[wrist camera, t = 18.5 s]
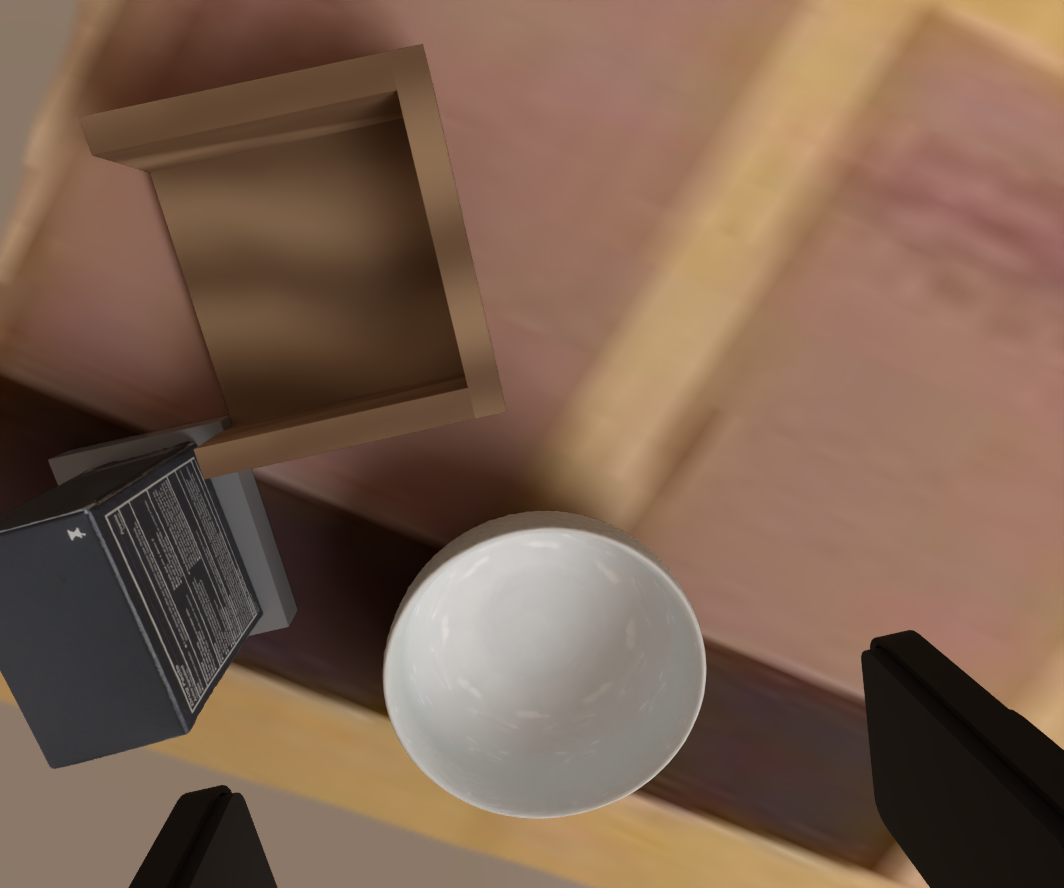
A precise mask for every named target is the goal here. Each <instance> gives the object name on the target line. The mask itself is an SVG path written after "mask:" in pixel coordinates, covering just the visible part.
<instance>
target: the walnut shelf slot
mask: <svg viewBox="0 0 1064 888" xmlns="http://www.w3.org/2000/svg"><path fill="white" fill-rule="evenodd" d="M79 119H80V122H81V125H82V128H83V131H84V134H85V136H86V139H87V142H88V145H89V148H90V151H91V154H92V155H93V156H96V157H99V158H103V159H106V160H109V161H113V162H116V163H119V164H123V165H126V166H129V167H133V168H136V169H139V170H143V171H146V172H149V173H150V174H151V177H152V181H153V184H154V187H155V190H156V193H157V196H158V199H159V202H160V205H161V208H162V211H163V214H164V217H165V220H166V223H167V226H168V229H169V232H170V235H171V238H172V241H173V245H174V248H175V251H176V254H177V257H178V260H179V263H180V266H181V269H182V272H183V275H184V278H185V281H186V284H187V287H188V290H189V293H190V296H191V299H192V302H193V306H194V309H195V312H196V315H197V318H198V321H199V324H200V327H201V330H202V333H203V336H204V339H205V342H206V345H207V348H208V351H209V354H210V357H211V360H212V363H213V367H214V370H215V373H216V376H217V379H218V382H219V385H220V388H221V391H222V394H223V397H224V400H225V403H226V406H227V409H228V412H229V415H230V418H231V421H232V424H233V425H232V426H230V427H228V428H227V429H225V430H224V431H222V432H220V433H219V434H217V435H216V436H214V437H212V438H211V439H209V440H208V441H206V442H204V443H203V444H201V445H200V446H198V447H196V448H195V449H194V452H195V455H196V458H197V461H198V464H199V467H200V469H201V472H202V475H203V478H204V479H209V478H213V477H218V476H222V475H227V474H231V473H235V472H240V471H244V470H249V469H253V468H258V467H262V466H267V465H271V464H275V463H280V462H284V461H289V460H293V459H298V458H302V457H307V456H311V455H316V454H320V453H324V452H329V451H333V450H338V449H342V448H347V447H351V446H356V445H360V444H365V443H369V442H373V441H378V440H382V439H387V438H391V437H396V436H400V435H405V434H409V433H413V432H418V431H422V430H427V429H431V428H436V427H440V426H445V425H449V424H454V423H458V422H462V421H467V420H471V419H476V418H480V417H485V416H489V415H494V414H498V413H502V412H506V408H505V403H504V398H503V393H502V388H501V384H500V379H499V375H498V371H497V366H496V362H495V357H494V353H493V349H492V344H491V340H490V335H489V331H488V327H487V322H486V318H485V313H484V309H483V305H482V300H481V296H480V291H479V287H478V282H477V278H476V274H475V269H474V265H473V260H472V256H471V252H470V247H469V243H468V238H467V234H466V230H465V225H464V221H463V216H462V212H461V207H460V203H459V199H458V194H457V190H456V185H455V181H454V177H453V172H452V168H451V163H450V159H449V155H448V150H447V146H446V141H445V137H444V133H443V128H442V124H441V119H440V115H439V110H438V106H437V102H436V97H435V93H434V88H433V84H432V80H431V76H430V71H429V67H428V63H427V59H426V55H425V51H424V46H423V44H420V45H415V46H411V47H406V48H401V49H397V50H392V51H387V52H383V53H378V54H373V55H368V56H364V57H359V58H354V59H350V60H345V61H340V62H336V63H331V64H326V65H321V66H317V67H312V68H307V69H303V70H298V71H293V72H289V73H284V74H279V75H275V76H270V77H265V78H260V79H256V80H251V81H246V82H242V83H237V84H232V85H228V86H223V87H218V88H213V89H209V90H204V91H199V92H195V93H190V94H185V95H181V96H176V97H171V98H166V99H162V100H157V101H152V102H148V103H143V104H138V105H134V106H129V107H124V108H119V109H115V110H110V111H105V112H101V113H96V114H91V115H87V116H82V117H79Z"/></svg>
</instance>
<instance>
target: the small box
mask: <svg viewBox="0 0 1064 888" xmlns="http://www.w3.org/2000/svg"><path fill="white" fill-rule="evenodd" d="M196 447H198V446H197V444H196V443H193V442H190V441H186V442H184V443H180V444H177V445H175V446H174V447H171V448H163V449H162V450H160V451H154V452H152V453H147V454H145V455H140V456H137V457H131V458H129V459H126V460H122V461H113V462H110V463H107V464H103V465H101V466H98V467H96V468H94V469H90V470H86V471H84V472H83V473H81V474H79V475H78V476H76V477H74V478H72V479H70V480H68V481H66V482H64V483H62V484H61V485H58V486H57V487H55V488H53V489H51V490H49V491H47V492H45V493H43V494H41V495H39V496H38V497H36V498H34V499H32V500H30V501H28V502H26V503H24V504H22V505H20V506H18V507H17V508H15V509H13V510H11V511H9V512H7V513H5V514H3V515H1V516H0V671H1V673H2V675H3V677H4V678H5V680H6V682H7V684H8V686H9V688H10V690H11V692H12V694H13V696H14V698H15V700H16V702H17V703H18V705H19V707H20V709H21V711H22V713H23V715H24V717H25V719H26V721H27V723H28V725H29V727H30V729H31V731H32V733H33V735H34V736H35V738H36V741H37V742H38V744H39V746H40V748H41V750H42V752H43V754H44V756H45V758H46V760H47V762H48V764H49V766H50V767H51V768H52V769H56V768H61V767H66V766H71V765H75V764H79V763H82V762H86V761H90V760H93V759H97V758H101V757H104V756H108V755H112V754H116V753H120V752H124V751H127V750H131V749H135V748H138V747H142V746H146V745H150V744H153V743H157V742H161V741H164V740H168V739H171V738H175V737H179V736H182V735H186V734H188V733H189V732H190V730H191V729H192V727H193V725H194V724H195V721H196V719H197V716H198V715H199V713H200V712H201V710H202V708H203V707H204V704H205V703H206V701H207V699H208V698H209V696H210V695H211V694H212V692H213V689H214V688H215V687H216V686H217V684H218V682H219V681H220V680H221V678H222V677H223V675H224V673H225V671H226V670H227V668H228V667H229V665H230V664H231V662H232V661H233V659H234V657H235V656H236V654H237V653H238V651H239V650H240V648H241V646H242V645H243V644H244V642H245V641H246V639H247V638H248V635H249V634H250V633H251V631H252V630H253V628H254V627H255V626H256V624H257V622H258V621H259V620H260V619H261V617H262V616H263V611H262V608H261V606H260V604H259V601H258V598H257V596H256V592H255V590H254V588H253V585H252V582H251V580H250V578H249V575H248V572H247V570H246V567H245V565H244V562H243V559H242V557H241V555H240V552H239V549H238V547H237V544H236V542H235V540H234V537H233V534H232V532H231V529H230V527H229V524H228V522H227V519H226V517H225V514H224V511H223V509H222V506H221V504H220V501H219V499H218V496H217V494H216V491H215V489H214V486H213V483H212V481H211V479H210V478H209V479H204V478H203V475H202V472H201V469H200V467H199V464H198V461H197V458H196V455H195V452H194V449H195V448H196Z"/></svg>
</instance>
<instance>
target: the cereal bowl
mask: <svg viewBox="0 0 1064 888" xmlns="http://www.w3.org/2000/svg"><path fill="white" fill-rule="evenodd" d="M705 682H706V656H705V648H704V643H703V638H702V634H701V631H700V627H699V624H698V621H697V618H696V616H695V614H694V611H693V608H692V606H691V604H690V602H689V601H688V599H687V597H686V595H685V593H684V591H683V590H682V589H681V587H680V585H679V583H678V582H677V580H676V579H675V578H674V577H673V575H672V574H671V573H670V571H669V569H668V568H666V567H665V565H664V564H663V563H662V561H661V560H659V559H658V557H656V556H655V555H654V554H653V553H652V552H651V551H650V550H649V549H648V548H647V547H645V546H644V545H643V544H641V543H640V542H639V541H638V540H636V539H634V538H633V537H631V536H630V535H629V534H627V533H625V532H623V531H622V530H620V529H617V528H615V527H614V526H612V525H611V524H607V523H605V522H602V521H600V520H597V519H595V518H590V517H587V516H585V515H579V514H576V513H568V512H560V511H534V512H528V511H527V512H524V513H517V514H508V515H507V516H504V517H499V518H497V519H494V520H489V521H487V522H486V523H483V524H480V525H479V526H477V527H473V528H471V529H470V530H469V531H467V532H464V533H463V534H462V535H461V536H459V537H457V538H455V539H454V540H453V541H451V542H450V543H448V544H447V545H446V546H445V547H444V548H442V549H441V550H440V551H439V552H438V553H437V554H435V555H434V556H433V558H432V559H431V560H430V561H429V562H428V563H426V565H425V566H424V567H423V568H422V570H421V571H420V572H419V573H418V575H417V576H416V578H415V579H414V581H413V582H412V584H411V585H410V586H409V587H408V590H407V592H406V594H405V596H404V597H403V599H402V601H401V603H400V605H399V608H398V610H397V611H396V614H395V618H394V620H393V622H392V625H391V627H390V633H389V635H388V638H387V644H386V648H385V651H384V664H383V691H384V697H385V703H386V708H387V711H388V714H389V717H390V720H391V723H392V726H393V728H394V731H395V733H396V735H397V737H398V739H399V741H400V742H401V744H402V746H403V748H404V749H405V751H406V752H407V754H408V755H409V757H410V758H411V759H412V760H413V762H414V763H415V764H416V765H417V766H418V767H419V768H420V769H421V770H422V771H423V772H424V773H425V774H426V775H427V776H428V777H429V778H430V779H431V780H432V781H434V782H435V783H436V784H437V785H439V786H440V787H441V788H443V789H444V790H446V791H447V792H449V793H450V794H452V795H453V796H455V797H457V798H459V799H460V800H462V801H464V802H466V803H468V804H471V805H473V806H475V807H478V808H481V809H483V810H486V811H489V812H493V813H497V814H501V815H506V816H512V817H521V818H555V817H563V816H569V815H575V814H579V813H583V812H587V811H591V810H594V809H597V808H600V807H603V806H605V805H608V804H610V803H613V802H615V801H617V800H619V799H621V798H623V797H625V796H627V795H629V794H631V793H632V792H634V791H636V790H637V789H639V788H640V787H641V786H643V785H644V784H646V783H647V782H648V781H650V780H651V779H652V778H653V777H654V776H656V775H657V774H658V773H659V772H660V771H661V770H662V769H663V768H664V767H665V766H666V765H667V764H668V763H669V762H670V761H671V760H672V758H673V757H674V756H675V754H676V753H677V752H678V751H679V749H680V748H681V747H682V745H683V744H684V742H685V740H686V739H687V737H688V735H689V733H690V731H691V729H692V728H693V725H694V723H695V721H696V718H697V716H698V713H699V710H700V707H701V704H702V700H703V696H704V690H705Z"/></svg>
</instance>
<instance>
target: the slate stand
mask: <svg viewBox="0 0 1064 888" xmlns="http://www.w3.org/2000/svg"><path fill="white" fill-rule="evenodd" d="M232 425H233V424H232V421H231V418H230V415H225V416H221V417H216V418H212V419H207V420H203V421H198V422H194V423H190V424H185V425H181V426H176V427H172V428H167V429H163V430H158V431H154V432H149V433H145V434H140V435H136V436H131V437H127V438H122V439H118V440H113V441H109V442H104V443H100V444H95V445H91V446H86V447H82V448H77V449H73V450H69V451H67V452H64V453H62V454H60V455H58V456H55V457H53V458H51V459H48V461H49V464H50V466H51V469H52V471H53V474H54V476H55V479H56V481H57V484H58V485H61V484H62V483H64V482H66V481H68V480H70V479H72V478H74V477H76V476H78V475H79V474H81V473H83V472H84V471H86V470H90V469H94V468H96V467H98V466H101V465H103V464H107V463H110V462H113V461H122V460H126V459H129V458H131V457H137V456H140V455H145V454H147V453H152V452H154V451H160V450H162V449H163V448H171V447H174V446H175V445H177V444H180V443H184V442H186V441H190V442H193V443H196V444H197V446H200V445H201V444H203V443H204V442H206V441H208V440H209V439H211V438H212V437H214V436H216V435H217V434H219V433H220V432H222V431H224V430H225V429H227V428H228V427H230V426H232ZM210 479H211V481H212V483H213V486H214V489H215V491H216V494H217V496H218V499H219V501H220V504H221V506H222V509H223V511H224V514H225V517H226V519H227V522H228V524H229V527H230V529H231V532H232V534H233V537H234V540H235V542H236V544H237V547H238V549H239V552H240V555H241V557H242V559H243V562H244V565H245V567H246V570H247V572H248V575H249V578H250V580H251V582H252V585H253V588H254V590H255V592H256V596H257V598H258V601H259V604H260V606H261V608H262V611H263V616H262V617H261V619H260V620H259V621H258V622H257V624H256V626H255V627H254V628H253V630H252V631H251V633H250V634H249V635H248V636H250V635H255V634H259V633H263V632H268V631H272V630H276V629H281V628H285V627H289V625H290V623H291V621H292V619H293V618H294V616H295V614H296V612H297V607H296V604H295V601H294V598H293V595H292V592H291V589H290V585H289V582H288V579H287V576H286V573H285V570H284V567H283V564H282V561H281V558H280V555H279V552H278V549H277V546H276V543H275V540H274V536H273V533H272V530H271V527H270V524H269V521H268V518H267V515H266V512H265V509H264V506H263V503H262V500H261V497H260V494H259V490H258V487H257V484H256V481H255V478H254V475H253V472H252V469H249V470H244V471H240V472H235V473H231V474H227V475H222V476H218V477H213V478H210Z"/></svg>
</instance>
